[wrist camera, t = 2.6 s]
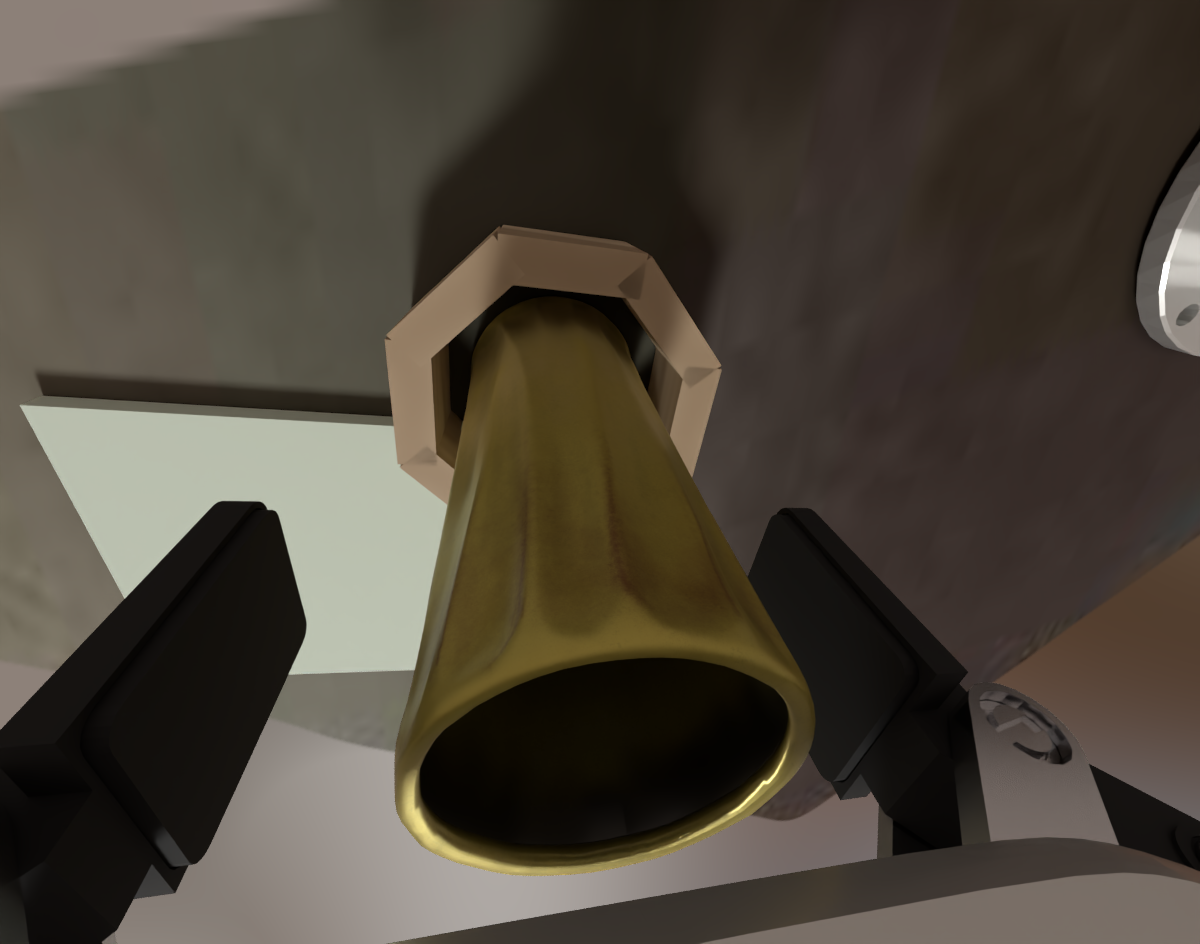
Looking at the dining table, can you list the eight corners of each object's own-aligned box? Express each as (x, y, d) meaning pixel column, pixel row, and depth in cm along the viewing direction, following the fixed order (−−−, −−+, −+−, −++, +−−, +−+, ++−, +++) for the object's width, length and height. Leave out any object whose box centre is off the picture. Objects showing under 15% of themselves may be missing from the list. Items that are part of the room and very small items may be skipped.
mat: (472, 421, 18) (470, 430, 17) (474, 654, 25) (473, 667, 24) (41, 395, 15) (20, 405, 15) (178, 664, 22) (167, 678, 22)
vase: (493, 460, 19) (440, 921, 7) (449, 309, 16) (214, 689, 4) (637, 435, 19) (820, 835, 7) (623, 281, 16) (912, 551, 4)
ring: (708, 253, 16) (749, 267, 13) (653, 491, 21) (674, 541, 18) (403, 210, 14) (372, 216, 11) (423, 483, 19) (405, 537, 16)
